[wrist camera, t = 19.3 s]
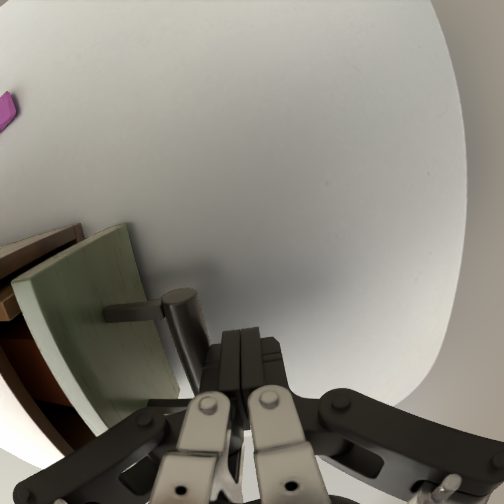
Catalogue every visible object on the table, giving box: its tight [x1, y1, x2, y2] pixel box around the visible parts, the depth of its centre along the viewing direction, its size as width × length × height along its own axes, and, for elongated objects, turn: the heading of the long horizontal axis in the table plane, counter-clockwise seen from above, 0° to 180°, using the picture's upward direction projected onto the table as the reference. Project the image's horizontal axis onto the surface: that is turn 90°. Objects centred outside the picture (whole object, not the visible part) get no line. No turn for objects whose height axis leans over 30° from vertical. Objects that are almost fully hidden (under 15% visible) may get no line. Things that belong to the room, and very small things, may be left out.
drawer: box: [0, 224, 211, 470], centre depth 11 cm, size 18×11×8 cm, turn 99°
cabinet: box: [0, 223, 84, 469], centre depth 11 cm, size 15×13×10 cm
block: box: [0, 316, 73, 407], centre depth 12 cm, size 4×4×4 cm
